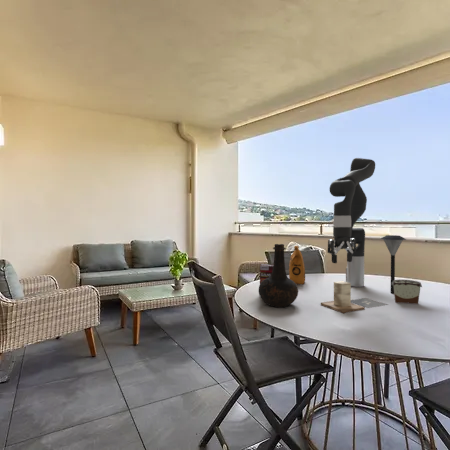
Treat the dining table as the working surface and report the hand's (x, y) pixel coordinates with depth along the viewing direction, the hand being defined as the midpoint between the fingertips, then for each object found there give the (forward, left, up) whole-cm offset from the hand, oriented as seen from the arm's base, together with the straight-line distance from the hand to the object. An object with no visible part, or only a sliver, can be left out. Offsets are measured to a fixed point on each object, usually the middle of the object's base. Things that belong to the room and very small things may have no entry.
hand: (341, 262), depth 143 cm
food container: (+6, +33, -20) cm, 39 cm away
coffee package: (-52, +14, -20) cm, 57 cm away
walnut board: (0, 0, -20) cm, 20 cm away
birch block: (0, 0, -19) cm, 19 cm away
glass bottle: (-16, -23, -20) cm, 35 cm away
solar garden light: (-8, +42, -20) cm, 47 cm away
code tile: (0, +15, -20) cm, 25 cm away
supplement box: (-31, -19, -20) cm, 41 cm away
